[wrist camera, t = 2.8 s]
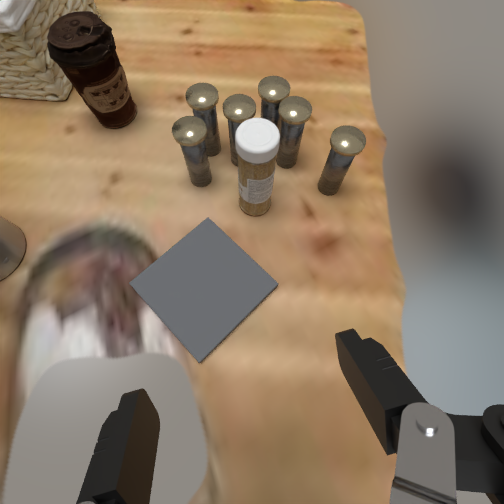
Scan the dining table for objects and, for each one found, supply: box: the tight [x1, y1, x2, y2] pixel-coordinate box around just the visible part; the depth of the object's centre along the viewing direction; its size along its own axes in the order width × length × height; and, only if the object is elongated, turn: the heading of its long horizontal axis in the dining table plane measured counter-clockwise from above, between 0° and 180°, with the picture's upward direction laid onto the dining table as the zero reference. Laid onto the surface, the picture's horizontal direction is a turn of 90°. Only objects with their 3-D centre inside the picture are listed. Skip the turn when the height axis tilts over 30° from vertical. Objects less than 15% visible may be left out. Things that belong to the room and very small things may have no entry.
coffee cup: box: [47, 11, 137, 128], centre depth 42 cm, size 9×8×13 cm
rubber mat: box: [129, 218, 278, 363], centre depth 37 cm, size 13×13×1 cm
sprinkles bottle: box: [235, 118, 280, 216], centre depth 36 cm, size 5×5×13 cm
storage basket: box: [0, 0, 100, 101], centre depth 46 cm, size 24×16×15 cm
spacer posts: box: [172, 76, 366, 195], centre depth 40 cm, size 21×16×10 cm
